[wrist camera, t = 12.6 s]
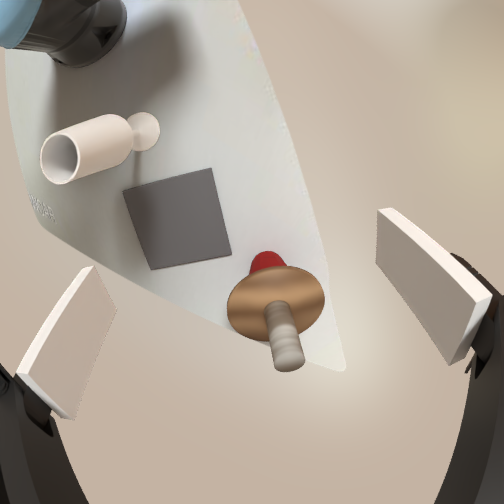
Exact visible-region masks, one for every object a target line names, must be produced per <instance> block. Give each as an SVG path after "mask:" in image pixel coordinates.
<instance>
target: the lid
mask: <svg viewBox="0 0 504 504" xmlns="http://www.w3.org/2000/svg"><path fill="white" fill-rule="evenodd" d="M324 302H325V297H324V292H323V289H322V287H321V285H320V283H319V281H318V280H317V279H316V278H315V277H314V276H313V275H312V274H311V273H309V272H307V271H305V270H303V269H300V268H297V267H292V266H274V267H268V268H264V269H261V270H258V271H256V272H254V273H252V274H250V275H248V276H247V277H245V278H244V279H242V280H241V281H240V282H239V283H238V284H237V285H236V286H235V287H234V289H233V290H232V292H231V293H230V295H229V298H228V302H227V316H228V320H229V322H230V324H231V325H232V327H233V328H234V329H235V330H236V331H237V332H238V333H240V334H241V335H243V336H245V337H247V338H249V339H253V340H257V341H270V346H271V351H272V357H273V361H274V367H275V369H276V370H278V371H280V372H290V371H294V370H297V369H299V368H300V367H302V366H303V365H304V363H305V357H304V353H303V350H302V346H301V343H300V339H299V336H298V334H300V333H302V332H303V331H305V330H306V329H308V328H309V327H310V326H311V325H312V324H313V323H314V322H315V321H316V320H317V319H318V318H319V316H320V314H321V312H322V310H323V307H324Z"/></svg>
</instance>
